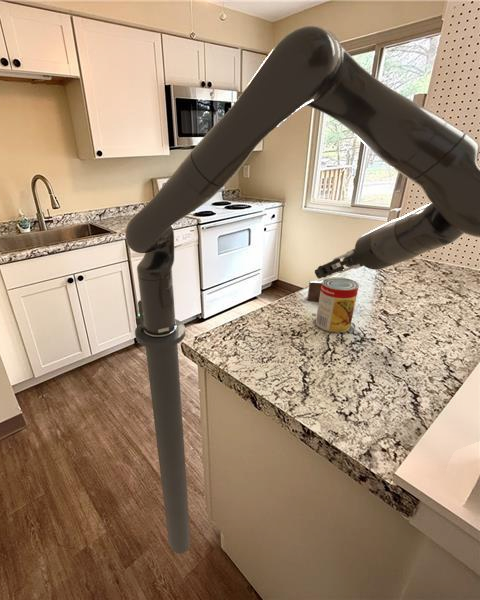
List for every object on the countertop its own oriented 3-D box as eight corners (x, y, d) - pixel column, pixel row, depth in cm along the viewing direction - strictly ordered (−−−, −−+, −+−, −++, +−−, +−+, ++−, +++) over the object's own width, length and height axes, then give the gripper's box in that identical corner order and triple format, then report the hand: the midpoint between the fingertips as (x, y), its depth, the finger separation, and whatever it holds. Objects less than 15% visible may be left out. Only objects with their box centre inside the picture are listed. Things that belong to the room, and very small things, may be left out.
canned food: (357, 327, 80) (366, 284, 74) (334, 335, 77) (343, 292, 72) (330, 314, 86) (337, 275, 81) (308, 322, 84) (314, 281, 79)
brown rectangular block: (307, 300, 95) (310, 282, 93) (307, 297, 97) (309, 280, 94) (345, 303, 91) (349, 284, 89) (344, 300, 93) (347, 281, 91)
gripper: (413, 214, 58) (351, 244, 74) (349, 237, 56) (299, 263, 72) (432, 249, 57) (365, 273, 73) (368, 274, 55) (313, 293, 71)
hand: (332, 268), depth 73 cm, fingers open, 8 cm apart
